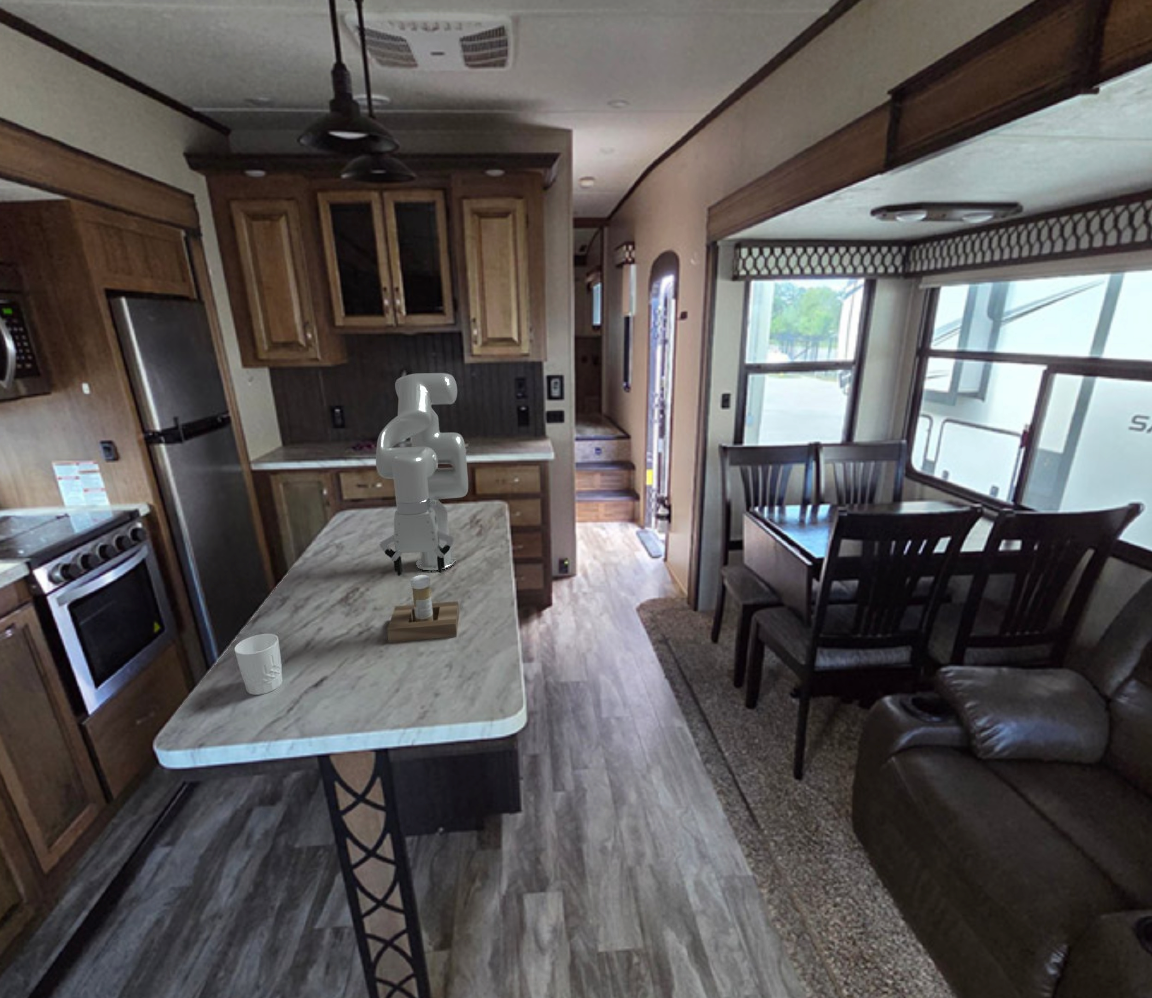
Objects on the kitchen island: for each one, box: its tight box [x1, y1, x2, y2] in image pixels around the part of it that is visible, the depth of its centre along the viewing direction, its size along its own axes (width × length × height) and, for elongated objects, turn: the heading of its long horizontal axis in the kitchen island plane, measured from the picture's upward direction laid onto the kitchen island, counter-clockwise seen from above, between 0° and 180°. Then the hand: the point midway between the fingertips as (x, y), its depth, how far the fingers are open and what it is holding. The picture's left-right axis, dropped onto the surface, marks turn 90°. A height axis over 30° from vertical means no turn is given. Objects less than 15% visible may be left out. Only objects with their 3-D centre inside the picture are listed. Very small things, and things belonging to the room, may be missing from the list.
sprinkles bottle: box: [410, 574, 434, 622], centre depth 135 cm, size 5×5×13 cm
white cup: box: [233, 633, 284, 696], centre depth 113 cm, size 8×8×10 cm
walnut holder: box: [386, 600, 460, 643], centre depth 136 cm, size 12×16×4 cm
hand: (420, 572), depth 133 cm, fingers open, 9 cm apart
